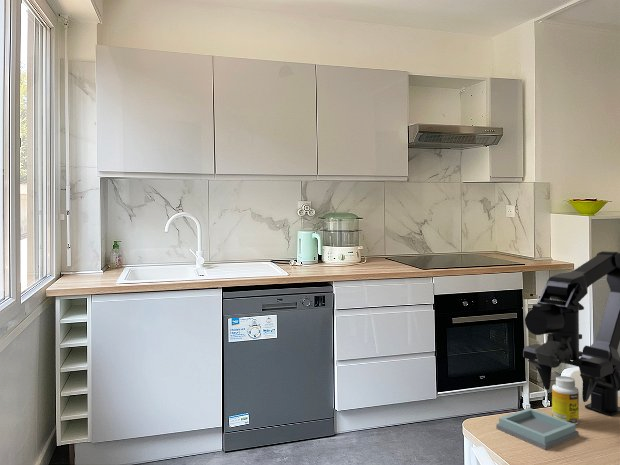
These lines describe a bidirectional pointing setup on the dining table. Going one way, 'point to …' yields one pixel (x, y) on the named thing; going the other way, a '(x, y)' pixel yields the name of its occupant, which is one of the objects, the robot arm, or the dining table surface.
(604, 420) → the dining table surface
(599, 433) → the dining table surface
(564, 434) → the tray
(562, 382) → the supplement bottle
